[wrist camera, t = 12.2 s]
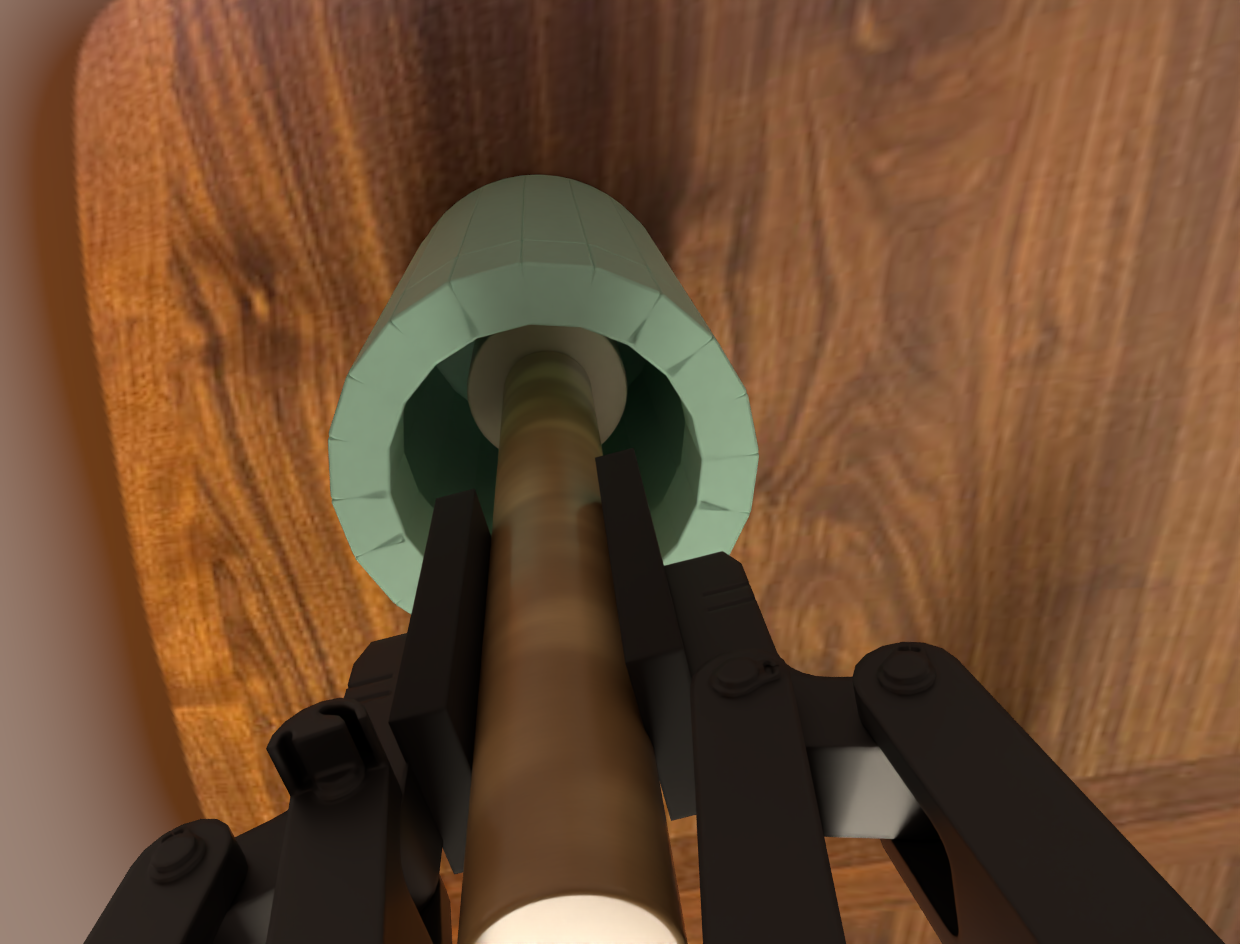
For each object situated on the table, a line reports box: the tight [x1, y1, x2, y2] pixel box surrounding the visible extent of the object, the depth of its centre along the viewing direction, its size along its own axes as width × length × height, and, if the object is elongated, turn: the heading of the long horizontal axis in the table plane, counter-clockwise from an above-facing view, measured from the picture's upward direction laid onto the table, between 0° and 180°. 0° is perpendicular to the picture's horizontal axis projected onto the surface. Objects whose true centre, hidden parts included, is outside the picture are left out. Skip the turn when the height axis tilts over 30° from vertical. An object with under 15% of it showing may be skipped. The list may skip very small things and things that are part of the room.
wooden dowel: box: [457, 325, 688, 944], centre depth 21 cm, size 4×4×24 cm
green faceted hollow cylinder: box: [328, 175, 759, 614], centre depth 28 cm, size 9×9×15 cm
